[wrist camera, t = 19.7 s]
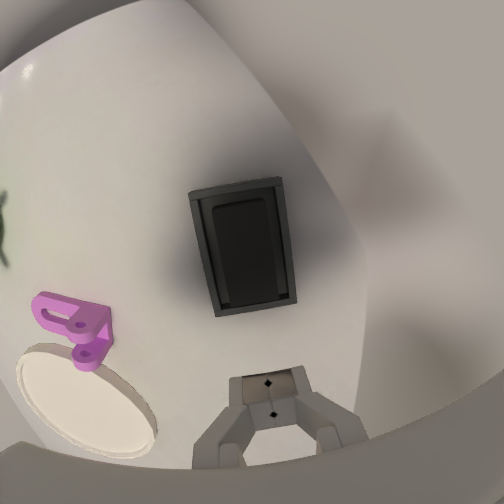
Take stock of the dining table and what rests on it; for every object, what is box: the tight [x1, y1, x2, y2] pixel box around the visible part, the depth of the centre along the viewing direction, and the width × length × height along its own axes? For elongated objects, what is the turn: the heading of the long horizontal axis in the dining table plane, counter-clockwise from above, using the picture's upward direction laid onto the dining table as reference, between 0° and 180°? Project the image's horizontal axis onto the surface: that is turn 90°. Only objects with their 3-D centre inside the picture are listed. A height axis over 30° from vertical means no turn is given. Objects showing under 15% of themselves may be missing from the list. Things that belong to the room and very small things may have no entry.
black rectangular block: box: [211, 198, 279, 307], centre depth 28 cm, size 10×5×3 cm, turn 9°
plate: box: [16, 343, 157, 459], centre depth 35 cm, size 28×28×2 cm
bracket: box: [31, 292, 113, 372], centre depth 28 cm, size 13×6×7 cm, turn 80°
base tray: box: [188, 176, 297, 317], centre depth 29 cm, size 14×9×2 cm
